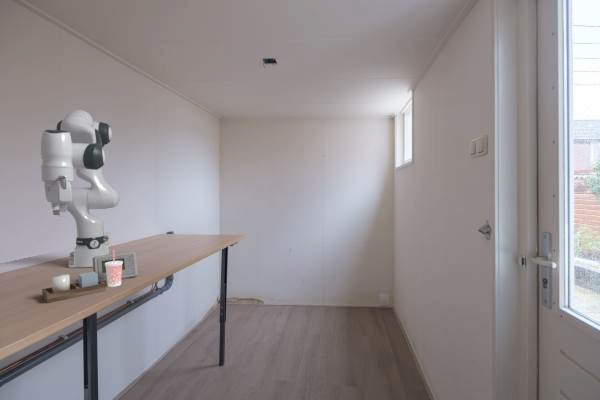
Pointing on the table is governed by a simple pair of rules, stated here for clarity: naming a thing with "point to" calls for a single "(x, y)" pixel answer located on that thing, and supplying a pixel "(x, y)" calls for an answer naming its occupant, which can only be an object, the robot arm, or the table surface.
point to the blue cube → (87, 279)
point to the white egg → (60, 283)
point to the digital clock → (128, 260)
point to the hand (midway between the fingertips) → (59, 215)
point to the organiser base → (72, 291)
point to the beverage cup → (114, 272)
